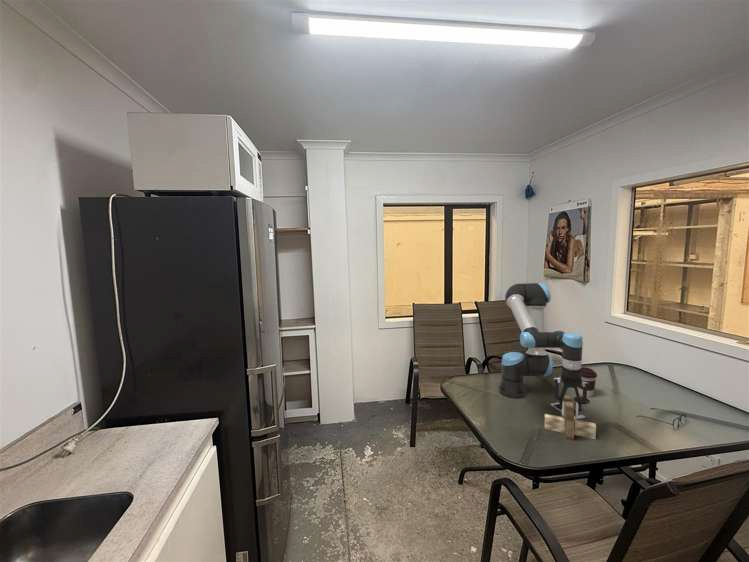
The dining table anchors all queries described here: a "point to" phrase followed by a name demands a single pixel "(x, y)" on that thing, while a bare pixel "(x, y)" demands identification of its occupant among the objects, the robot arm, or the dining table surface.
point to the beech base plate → (579, 426)
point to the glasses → (673, 420)
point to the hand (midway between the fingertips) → (569, 415)
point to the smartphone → (561, 410)
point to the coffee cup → (589, 377)
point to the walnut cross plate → (569, 417)
